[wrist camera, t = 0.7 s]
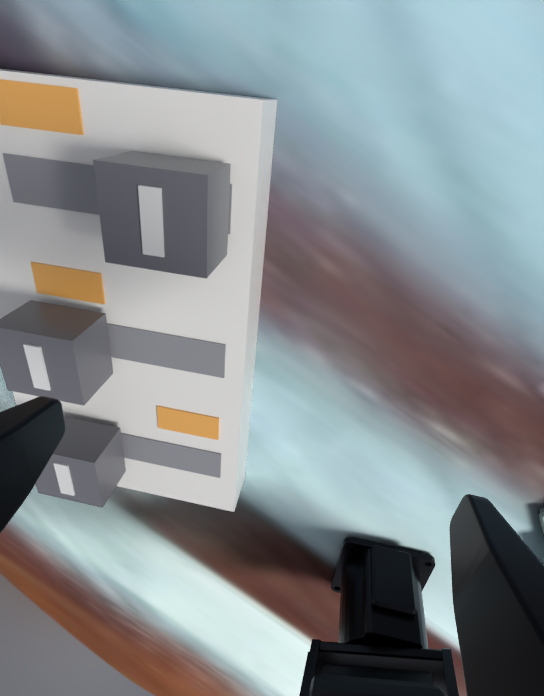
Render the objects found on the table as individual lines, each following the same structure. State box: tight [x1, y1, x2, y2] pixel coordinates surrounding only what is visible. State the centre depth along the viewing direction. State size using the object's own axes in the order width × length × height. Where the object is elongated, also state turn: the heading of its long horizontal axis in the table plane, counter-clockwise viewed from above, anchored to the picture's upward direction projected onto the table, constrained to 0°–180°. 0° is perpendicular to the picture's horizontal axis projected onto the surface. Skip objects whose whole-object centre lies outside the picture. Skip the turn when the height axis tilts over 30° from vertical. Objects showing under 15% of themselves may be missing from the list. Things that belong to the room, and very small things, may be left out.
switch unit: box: [0, 69, 277, 512], centre depth 23 cm, size 23×14×3 cm, turn 174°
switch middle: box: [0, 300, 113, 406], centre depth 21 cm, size 4×4×3 cm
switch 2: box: [93, 151, 231, 279], centre depth 16 cm, size 4×4×3 cm
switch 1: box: [36, 416, 126, 507], centre depth 24 cm, size 4×4×3 cm
